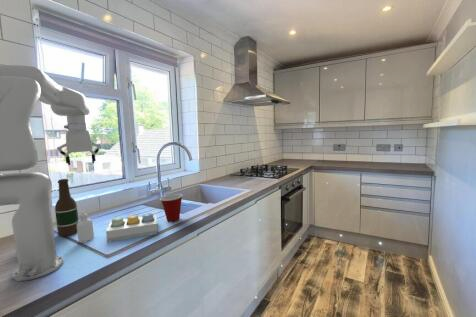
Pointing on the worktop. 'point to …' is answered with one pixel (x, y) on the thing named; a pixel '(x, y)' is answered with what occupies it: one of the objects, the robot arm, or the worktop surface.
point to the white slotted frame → (131, 230)
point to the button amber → (133, 220)
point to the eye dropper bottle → (85, 228)
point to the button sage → (117, 222)
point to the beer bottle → (66, 211)
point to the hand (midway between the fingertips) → (81, 163)
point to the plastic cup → (172, 206)
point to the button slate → (147, 217)
